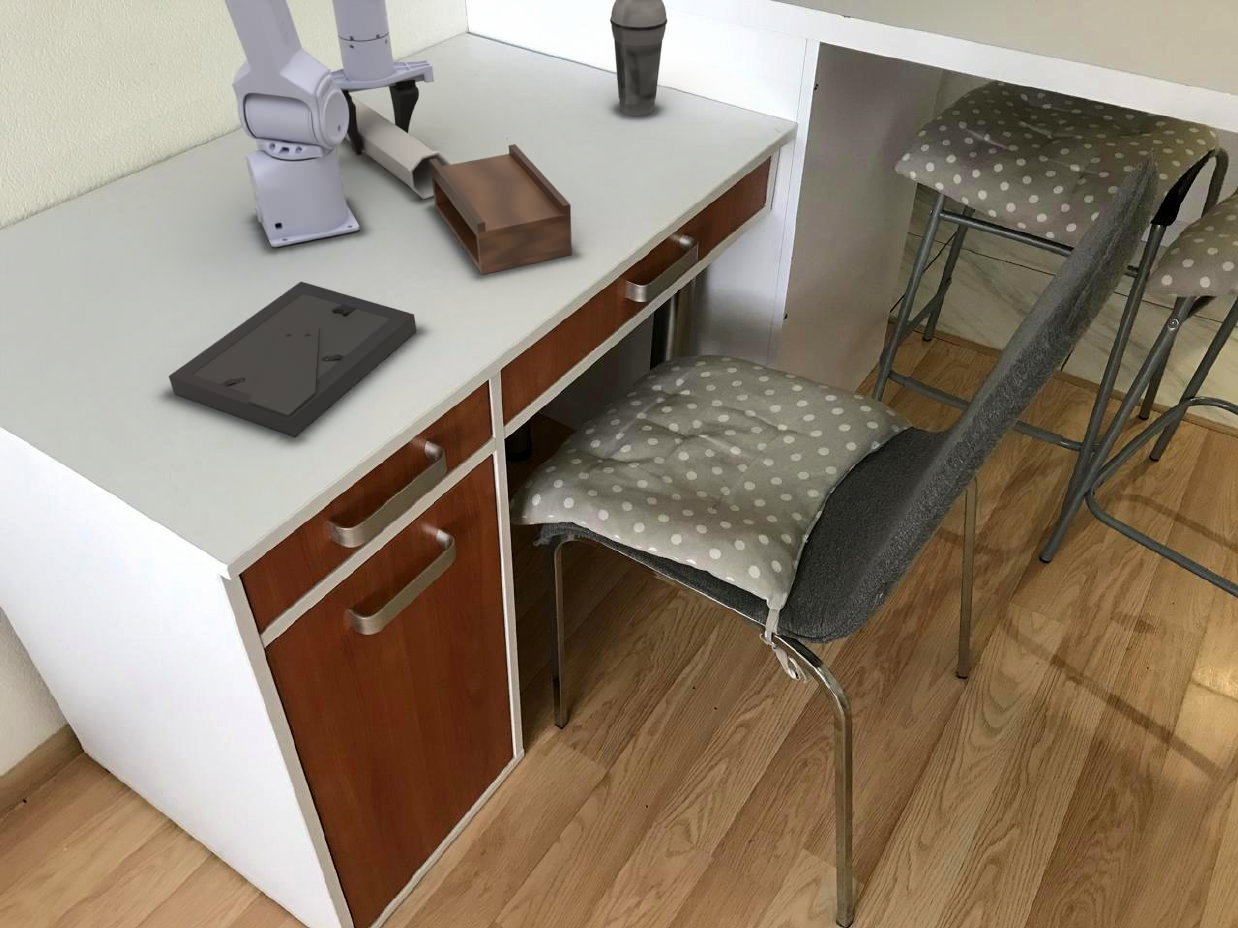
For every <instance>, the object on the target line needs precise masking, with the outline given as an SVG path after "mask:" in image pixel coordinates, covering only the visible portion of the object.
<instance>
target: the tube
mask: <svg viewBox="0 0 1238 928" xmlns="http://www.w3.org/2000/svg"><path fill="white" fill-rule="evenodd" d="M349 94H350V96H351V97H352V101H353V103H354V104H355V106H356V118H357V127H358V133H359V138H360V142H361V146H362V153H364V154H366V155H367V156H368V157H369V158H371V159H372V160H374V161H375V162H376V163H378V164H379V165H380V166H381V167H383V168H384V169H386V170H387V171H388V172H390V173H391V174H392V175H394V176H395V177H396V178H397V179H399V180H400V181H402V182H403V183H404V184H405V185H407V186H408V187H409V188H410V189H411V190H412V191H414V193H416V194H417V196H419V197H420V199H422V200H426V199H429V198H434V194H433V185H432V177H431V168H430V160H431V159H437V160H438V161H439V163H440V164H441V165H442V166H446V165H451V163H450V162H449V161H448V160H447V159H446V158H445V157H444V155H442V154H441V153H440V152H439V151H438V150H433V149H431V148H429V146H427V145H426V144H424V143H422V142H421V141H419V140H418V139H416V137H413V136H412V135H411V134H409V132H408V133H406V132H405V131H403V130H402V129H401V128H399V127H398V126H396V125H395V123H393V122H392V121H390V120H389V119H387V118H386V117H384V116H383V115H381V114H380V113H378V112H377V111H376V110H374V109H373V108H371V107H370V106H368V105H367V104H366V103H364V102H363V101H361V100H359V98H357V97H355V96H354V95H352V94H351V93H349ZM344 139H346V140H347V141H348V142H350V143H351V141H350V139H349V136H348V133H346V135H345V138H344Z"/></svg>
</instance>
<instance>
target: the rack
mask: <svg viewBox="0 0 1238 928" xmlns="http://www.w3.org/2000/svg"><path fill="white" fill-rule="evenodd" d="M430 168H431V177H432V185H433V194H434V196H433V201H434V208H435V210H436V212H437V213H438V214H439V216H440V217H441V218H442V220H443V222H444V223H445V224H446V226H447V227H448V228H449V230H450V231H451V233H452V235H454V237H455V239H456V240H457V242H458V243H459V245H460V246H461V247H462V248H463V250H464V251H465V252H466V254H467V255H468V257H469V258H470V259H471V261H472V262H473V264H474V266H475V267H476V268H477V269H478V271H479V272H480V274H481V275H486V274H491V273H496V272H500V271H504V270H509V269H514V268H518V267H522V266H523V267H524V266H527V265H532V264H535V263H541V262H545V261H549V260H554V259H558V258H562V257H567V256H572V255H573V250H572V249H573V248H572V214H571V213H572V211H571V207H572V206H571V203H570V202H569V201H568V200H567V199H566V198H565V197H564V196H563V195H562V194H561V192H560V191H559V190H558V189H557V188H556V186H554V185H553V183H551V181H550V180H549V179H548V178H547V177H546V176H545V175H544V174H543V173H542V172H541V170H539V168H538V167H537V166H536V165H535V164H534V163H533V162H532V161H531V160H530V159H529V157H528V156H527V155H526V154H525V153H524V152H523V151H522V150H521V148H519V147H518V146H517V145H516V144H515V143H512V144H509V145H508V153H506V154H500V155H495V156H490V157H485V158H479V159H474V160H473V159H472V160H469V161H463V162H458V163H451V164H450V165H446V166H442V165H441V164H440V163H439V161H438V160H437V159H431V160H430Z"/></svg>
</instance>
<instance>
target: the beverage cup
mask: <svg viewBox="0 0 1238 928" xmlns="http://www.w3.org/2000/svg"><path fill="white" fill-rule="evenodd" d="M610 13H611V15H610V18H609V22H610V24H611V26H610V27H611V32H612V37H613V41H614V42H613V43H614V54H615V55H614V56H615V67H616V82H617V93H618V94H617V95H618V101H619V102H618V103H619V111H620V112H621V113H622V114H623V115H626V116H630V117H645V116H649V115H652V114H653V113H654V110H655V103H656V99H657V91H658V90H657V89H658V83H659V82H658V81H659V73H660V64H661V57H662V56H661V55H662V47H663V41H664V37H665V34H666V33H665V32H666V29H667V24H668V18H667V11H666V7H665V4H664V2H663V0H615V1H614V3H613V5H612V9H611V12H610Z"/></svg>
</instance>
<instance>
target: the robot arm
mask: <svg viewBox="0 0 1238 928" xmlns="http://www.w3.org/2000/svg"><path fill="white" fill-rule="evenodd" d="M223 1H224V3H225V5H226V9H227V11H228V13H229V16H230V19H231V21H232V24H233V26H234V29H235V31H236V34H237V37H238V39H239V42H240V44H241V45H240V46H241V47H242V50H243V52H244V55H245V58H246V60H245V61H243V63H242V64H241V65H240V66H239V68H238V69H237V70H236V72H235V75H234V78H233V81H232V83H231V86H232V88H233V91H234V94H235V97H236V104H237V107H236V108H237V116H238V119H239V122H240V124H241V127H242V129H243V130H244V133H245V134H246V135H247V137H249V138H251V139H253V140H255V141H256V145H257V149H258V150H256V151H253V152H249V153H246V154H245V161H246V166H247V170H248V176H249V180H250V184H251V187H252V191H253V196H254V200H255V204H256V205H255V206H254V207H255V208H254V209H255V212H256V216H257V220H258V222H259V224H261V225H262V228H263V230H264V232H265V234H266V237H267V239H268V242H269V244H270V246H271V247H273V248H278V247H283V246H288V245H293V244H297V243H298V244H299V243H303V242H308V241H313V240H317V239H323V238H328V237H333V236H338V235H343V234H347V233H352V232H357V231H359V230H360V225H359V222H358V221H357V219H356V217H355V216H354V214H353V212H352V210H351V209H350V207H349V205H348V203H347V199H346V198H347V197H346V193H345V188H344V182H343V176H342V171H341V170H342V169H341V164H340V159H339V154H338V147H339V146H340V145H341V144H342V142H343V141H344V139H346V138H345V135H346V133H348V136H349V139H350V141H351V142H350V141H349V142H350V144H351V148H352V151H353V152H354V154H355V155H356V156H361V155H363V151H362V146H361V142H360V138H359V133H358V127H357V118H356V106H355V104H354V103H353V101H352V97H351V96H350V94H351V93H355V92H362V91H368V90H369V91H370V90H374V89H375V90H376V89H381V88H387V87H388V90H389V94H390V98H391V99H390V100H391V103H392V110H393V116H394V117H393V118H394V124H395V125H396V126H398V127H399V128H401V129H402V130H403V131H405V132H406V133H408V134H409V130H410V124H411V121H412V116H413V113H414V110H415V107H416V105H417V102H418V100H419V97H420V90H419V88H418V87H417V84H416V83H419V82H424V83H433V82H435V79H434V70H433V69H434V68H433V65H432V63H431V62H430V61H429V60H428V59H425V60H416V61H415V60H413V61H411V60H410V61H394V58H393V52H392V51H393V50H392V43H391V35H390V28H389V20H388V13H387V12H388V11H387V5H386V0H331V1H332V8H333V15H334V20H335V26H336V32H337V38H338V39H337V40H338V44H339V50H340V57H341V62H342V68H340V69H336V70H331V68H329V67H328V66H327V65H325V63H323V62H321V60H319V59H318V58H316V57H315V56H313V55H312V54H310V53H309V52H308V51H307V50H305V48H303V46H302V43H301V40H300V37H299V35H298V32H297V29H296V26H295V22H294V19H293V16H292V14H291V11H290V7H289V5H288V2H287V0H223Z"/></svg>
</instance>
